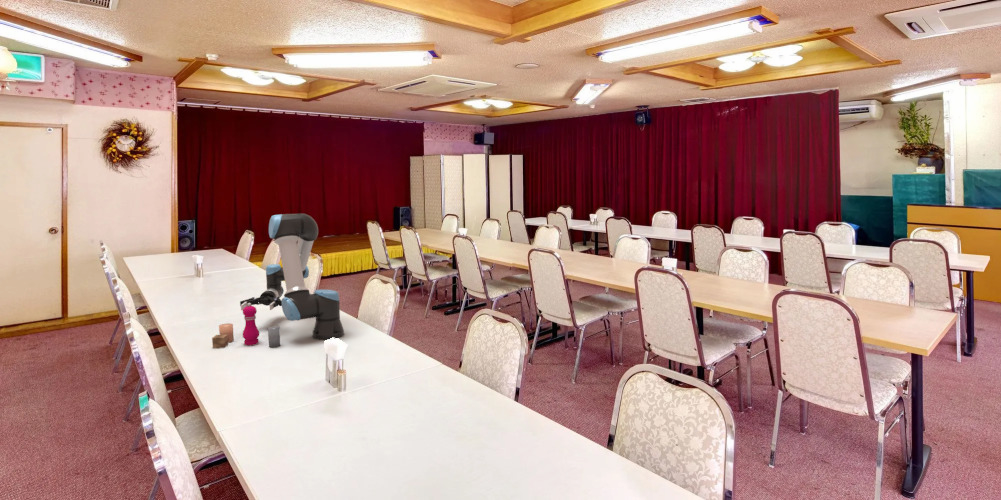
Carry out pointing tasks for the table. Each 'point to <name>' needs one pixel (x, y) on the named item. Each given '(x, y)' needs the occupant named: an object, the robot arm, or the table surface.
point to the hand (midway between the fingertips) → (256, 307)
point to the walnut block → (220, 341)
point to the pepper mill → (250, 326)
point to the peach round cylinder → (227, 331)
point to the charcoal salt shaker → (274, 336)
